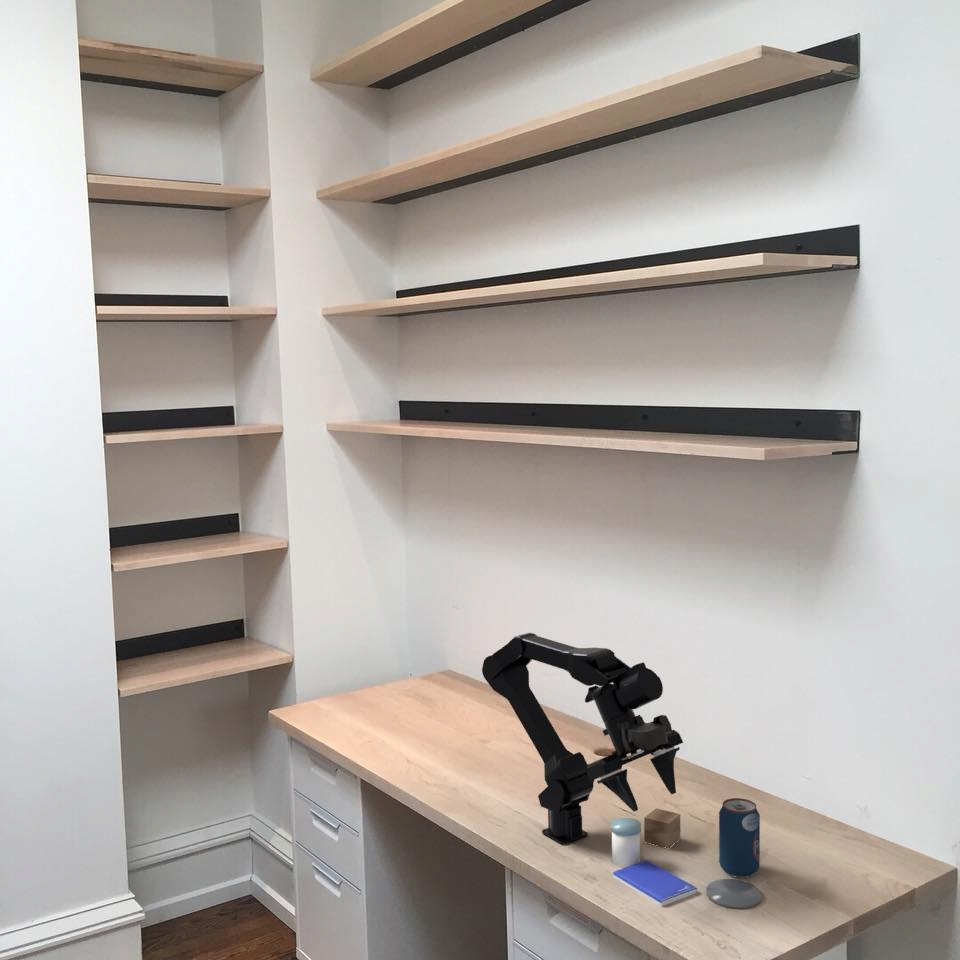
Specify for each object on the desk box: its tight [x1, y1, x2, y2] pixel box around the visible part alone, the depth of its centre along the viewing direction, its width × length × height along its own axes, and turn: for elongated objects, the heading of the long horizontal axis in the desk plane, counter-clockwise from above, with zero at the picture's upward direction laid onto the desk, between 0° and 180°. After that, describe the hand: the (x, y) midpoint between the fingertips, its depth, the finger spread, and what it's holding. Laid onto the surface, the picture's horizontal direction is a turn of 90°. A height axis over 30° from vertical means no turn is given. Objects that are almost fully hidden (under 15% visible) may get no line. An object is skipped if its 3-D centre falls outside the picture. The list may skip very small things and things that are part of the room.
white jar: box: [610, 817, 642, 868], centre depth 187 cm, size 5×5×7 cm
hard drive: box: [612, 859, 698, 907], centre depth 178 cm, size 2×8×12 cm
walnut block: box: [643, 807, 681, 849], centre depth 195 cm, size 5×5×5 cm
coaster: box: [706, 878, 763, 910], centre depth 174 cm, size 9×9×1 cm
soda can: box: [718, 797, 761, 878], centre depth 182 cm, size 7×7×12 cm
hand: (655, 802), depth 181 cm, fingers open, 9 cm apart
